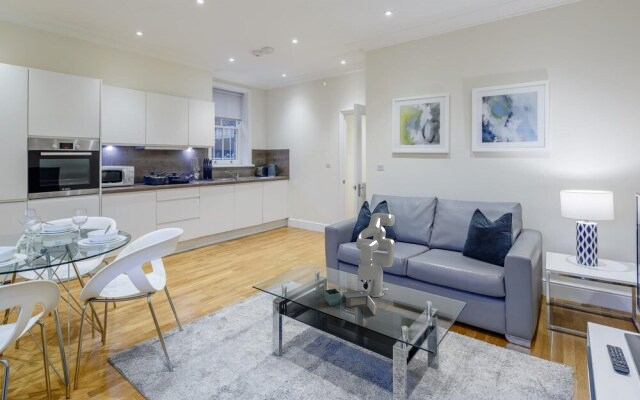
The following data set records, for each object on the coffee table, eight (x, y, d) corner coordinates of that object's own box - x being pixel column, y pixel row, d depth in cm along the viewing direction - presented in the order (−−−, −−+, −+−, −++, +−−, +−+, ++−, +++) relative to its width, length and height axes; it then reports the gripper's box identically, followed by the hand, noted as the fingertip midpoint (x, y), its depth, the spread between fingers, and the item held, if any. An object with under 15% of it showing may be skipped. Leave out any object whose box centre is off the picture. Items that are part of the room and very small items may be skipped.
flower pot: (323, 302, 242) (323, 290, 241) (335, 300, 246) (335, 288, 244) (328, 307, 234) (329, 295, 233) (340, 305, 238) (340, 293, 237)
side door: (367, 305, 238) (367, 295, 237) (369, 305, 238) (370, 295, 237) (373, 314, 224) (374, 304, 223) (376, 314, 225) (376, 304, 224)
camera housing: (363, 299, 247) (364, 289, 246) (368, 305, 239) (368, 294, 237) (340, 301, 243) (341, 291, 242) (344, 307, 235) (344, 297, 233)
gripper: (355, 264, 217) (355, 291, 221) (379, 263, 218) (378, 291, 222) (353, 260, 225) (353, 286, 228) (376, 259, 226) (375, 286, 229)
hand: (365, 288), depth 225 cm, fingers closed
